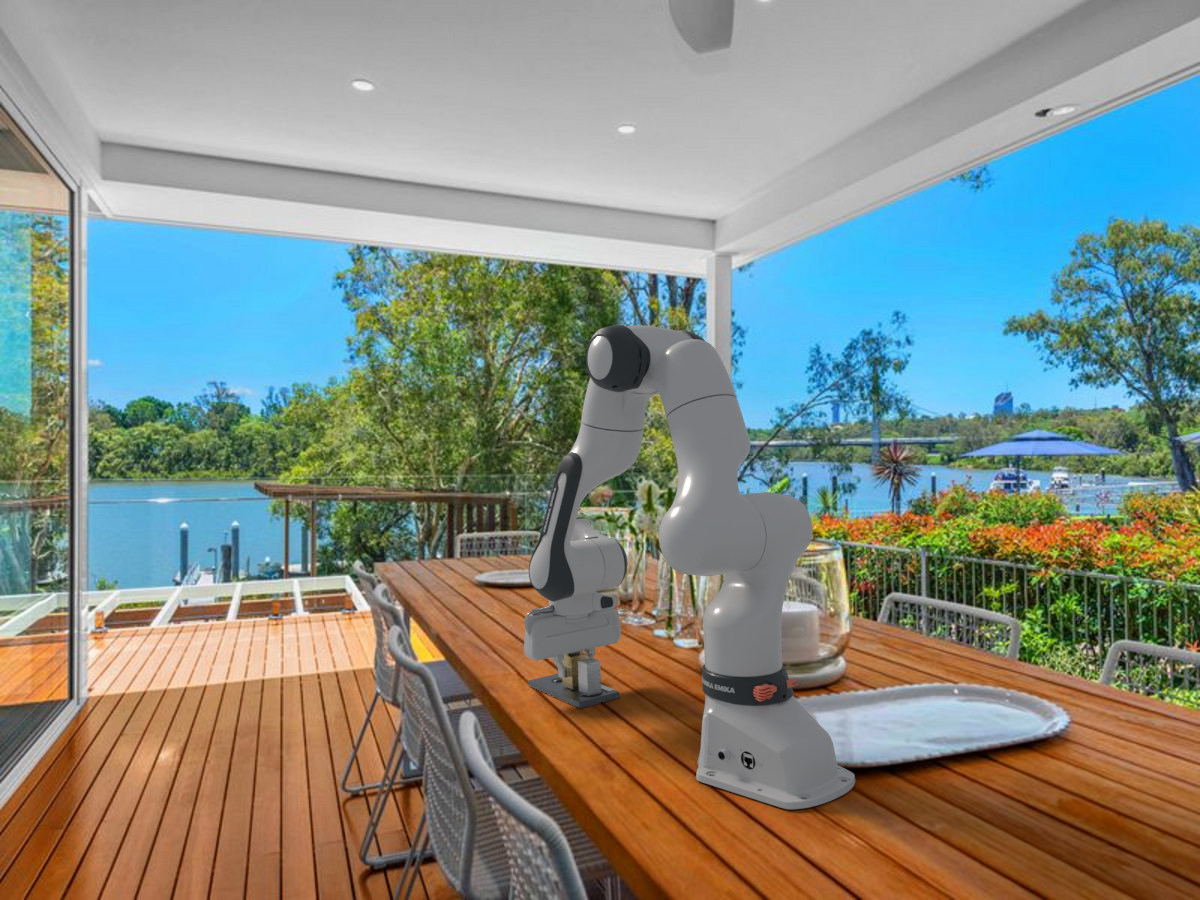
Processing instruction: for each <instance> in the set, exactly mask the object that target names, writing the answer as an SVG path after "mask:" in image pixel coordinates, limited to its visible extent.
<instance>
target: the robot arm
mask: <svg viewBox="0 0 1200 900" xmlns="http://www.w3.org/2000/svg"><path fill="white" fill-rule="evenodd" d="M585 363H586V369H587V372H588V375H589V377H590V378H589V380H588V384H587V389H586V392H585V395H584V401H583V406H582V412H581V418H580V419H581V421H580V426H579V427H580V428H579V431H578V433H577V434H578V435H577V437H576V440H575V442H574V444H573V446H572V448H571V449H570V450H569V452H568V454H566V455H565V456H564V457H563V458H562V459H561V460H560V462H559V465H558V467H557V469H556V472H555V476H554V480H553V483H552V487H551V489H550V490H551V491H550V494H549V499H548V503H547V506H546V510H545V514H544V519H543V522H542V526H541V530H540V534H539V536H538V537H539V538H538V541H537V544H536V545H535V548H534V549H533V552H532V554H531V557H530V560H529V565H528V579H529V582H530V584H531V586H532V587H533V589H534V590H535V591H536V592H537V593H538V594H539V595H540V596H542V598H544V599H546V600H548V606H543V607H541V608H540V607H539V608H537V607H536V608H533V609H531V610H530V611H529V612H528V613H527V614H526V615H525V617H524V630H525V631H524V637H523V638H524V640H523V641H524V642H523V653H524V655H525V656H526V657H527V659H530V660H533V661H541V660H545V659H550V658H551V659H552V661H553V663H554V665H555V666H556V668H557V672H558V673H557V674H558V675H559V677H560V678H566V677H569V676H570V673H569V672H570V671H569V668H568V667H565V666H564V664H563V662H562V660H564V654H569V653H573V652H578V651H580V652H582V651H583V653H585V654H587V658H593V659H595V655H596V648H600V647H605V646H609V645H614V644H617V643H618V642H619V640H620V639H621V637H622V635H621V633H622V631H621V630H622V629H621V621H620V620H621V619H620V614H619V611H618V609H616V607H617V606H618V598H617V596H614V595H611V594H608V593H603V592H601V591H605V590H610V589H613V588H615V587H619V586H620V585H621V584H622V583H623V581H624V580H625V578H626V576H627V571H628V558H627V554H626V551H625V548H624V547H623V546H622V544H621V543H620V542H619V541H618V540H617V539H615V538H613V537H608V536H606V535H604V534H603V533H601V532H599V531H598V530H596V529H595V528H593V526H592V524H591V522H590V521H589V519H587V518H585V517H580V516H579V517H578V515H579V510H580V507H581V504H582V502H583V501H584V499H585V498H586V497H587V495H588V494H590V492H592V491H593V490H595V489H596V488H597V487H599V486H600V485H602V484H604V483H605V482H607V481H610V480H612V479H613V478H617V477H618V476H620V475H621V474H623V473H625V472H626V471H628V470H629V469H630V468H631V467H632V466H633V465H634V463H635V462H637V459H638V457H639V455H640V452H641V449H642V443H643V436H644V427H645V417H646V407H647V404H648V401H649V400H650V399H651V397H653V396H655V395H659V396H660V398H661V401H662V405H663V409H664V414H665V419H666V422H667V425H668V430H669V433H670V437H671V442H672V445H673V450H674V453H675V458H676V463H677V487H676V492H675V496H674V499H673V503H672V504H671V506H670V508H669V509H668V510H667V511H666V513H665V514H664V516H663V518H662V520H661V523H660V525H659V530H658V543H659V548H660V550H661V554H662V556H663V558H664V560H665V562H667V564H668V565H669V566H670V567H671V568H672V570H674V571H675V572H677V573H679V574H683V575H689V576H699V577H713V576H720V575H724V579H723V582H722V584H721V586H720V590H719V591H718V593H717V594H716V596H715V597H714V598H713V599H712V601H710V602H709V603H708V605H707V607H706V608H705V610H704V613H703V617H702V618H703V619H702V624H703V625H702V626H703V627H702V628H703V650H704V652H703V653H704V664H703V665H702V666H701V667H702V670H701V672H702V674H701V682H702V691H703V693H704V694H705V697H704V698H705V699H704V700H705V701H704V709H703V714H702V724H701V735H700V736H701V737H700V738H701V739H700V740H701V741H700V749H699V754H698V758H697V766H698V767H697V769H696V776H695V778H696V780H697V781H698V782H700V783H703V784H707V785H709V786H711V787H712V786H713V787H716V788H719V789H722V790H725V791H728V792H731V793H734V794H737V795H740V796H743V797H746V798H749V799H753V800H756V801H758V802H761V803H766V804H768V805H771V806H775V807H778V808H781V809H784V810H800V809H808V808H812V807H816V806H820V805H823V804H826V803H829V802H831V801H833V800H835V799H838V798H840V797H841V796H844V795H846V794H847V793H848V792H850V791H851V790H852V789H853V788H854V786H855V784H856V776H855V773H853V772H852V771H850V770H848V769H846V768H844V767H843V766H841V765H839V764H838V763H837V757H836V751H835V746H834V743H833V740H832V738H831V735H830V733H829V732H828V731H827V730H825V728H824V727H823V726H822V725H821V724H820V723H819V722H818V721H817V720H816V719H815V718H814V717H813V716H812V715H811V714H810V713H809V711H807V710H806V708H805V707H804V706H803V705H802V703H800V702H799V701H798V699H797V698H796V697H795V696H794V690H793V688H794V687H796V686H799V683H795V682H797V681H798V680H799V677H793V678H790V677H789V674H788V673H787V669H786V667H785V665H784V664H783V651H782V647H783V646H782V645H783V644H782V643H783V641H782V618H783V617H782V614H783V609H784V608H783V606H784V601H785V596H786V592H787V589H788V586H789V582H790V578H791V576H792V573H793V570H794V568H795V567H796V564H797V562H798V561H799V559H800V558H801V556H802V555H803V554H804V553H805V551H806V550H807V549H808V547H809V545H810V543H811V541H812V539H813V538H812V537H813V522H812V518H811V515H810V513H809V511H808V509H807V507H806V506H805V504H804V503H803V502H801V501H800V500H799V499H797V498H796V497H794V496H792V495H791V496H790V495H786V494H781V493H777V492H776V493H775V492H770V491H769V492H768V491H764V492H763V491H762V492H753V493H741V492H740V489H739V481H738V480H739V479H738V477H739V476H738V474H739V473H738V472H739V467H740V466H741V465H742V464H743V462H745V460H746V459H747V457H748V456H749V454H750V452H751V440H750V436H749V433H748V429H747V427H746V422H745V420H744V417H743V413H742V410H741V407H740V403H739V400H738V398H737V394H736V391H735V389H734V386H733V383H732V380H731V378H730V375H729V373H728V371H727V369H726V366H725V365H724V362H723V360H722V359H721V357H720V355H719V353H718V351H717V349H715V347H714V346H713V345H712V344H711V343H710V342H707V341H706V340H705V339H704V338H703V337H701V336H700V335H699V334H696V333H694V332H691V331H688V330H685V329H684V330H683V329H679V330H676V329H671V328H664V327H658V326H656V325H655V326H654V325H639V324H638V325H623V324H615V325H609V326H604V327H602V328H600V329H597V331H595V333H593V335H592V336H591V339H590V340H589V342H588V345H587V348H586V354H585Z"/></svg>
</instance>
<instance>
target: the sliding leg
mask: <svg viewBox="0 0 1200 900" xmlns="http://www.w3.org/2000/svg"><path fill="white" fill-rule="evenodd" d="M583 659H587V654H586V653H585V652H582V651H578V652H573V653H569V654H564V660H562V662H563V664H564V666H565V667H568V668H569V671H570V672H569V673H570V676H569V677H566V678H562V681H563V686H566V687H568V688H571V689H576V688H579V680H578V661H579V660H583Z"/></svg>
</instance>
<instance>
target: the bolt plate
mask: <svg viewBox="0 0 1200 900" xmlns="http://www.w3.org/2000/svg"><path fill="white" fill-rule="evenodd" d="M601 672H602V670H601V660H599V659H596V658H587V659H583V660H579V661H578V680H579V688H576V689H571V688H568V687H566V686H563V681H562V678H560V677H559V675H558V673H554V674H551V675H547V676H541V677H537V678H534V679H529V680H528V687H529V686H531V687H533V688H535V689H534V690H536V689H537V690H536V691H538V690H540V691H542V692H545V693H547V694H550V695H552V696H554V697H556V698H558V699H560V700H559V701H561V700H563V701H565V702H567V703H569V704H568V705H570V704H571V706H572V705H573V706H572V707H574V706H575V708H576V707H578V708H577V709H579V708H580V709H583V708H587V707H590V706H594V705H595V706H596V705H599V704H602V703H601V702H603V703H606V702H610V701H613V699H614V700H617V699H620V691H619V690H616V689H614V688H611V687H609V686H606V685H604V684H602V679H601V678H602V673H601ZM531 687H530V688H531ZM533 688H532V689H533ZM540 691H539V692H540ZM542 692H541V693H542ZM545 693H544V694H545ZM547 694H546V695H547ZM554 697H553V698H554ZM556 698H555V699H556ZM558 699H557V700H558ZM609 700H610V701H609ZM563 701H562V702H563ZM605 701H606V702H605ZM565 702H564V703H565ZM567 703H566V704H567ZM598 703H599V704H598Z"/></svg>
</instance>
